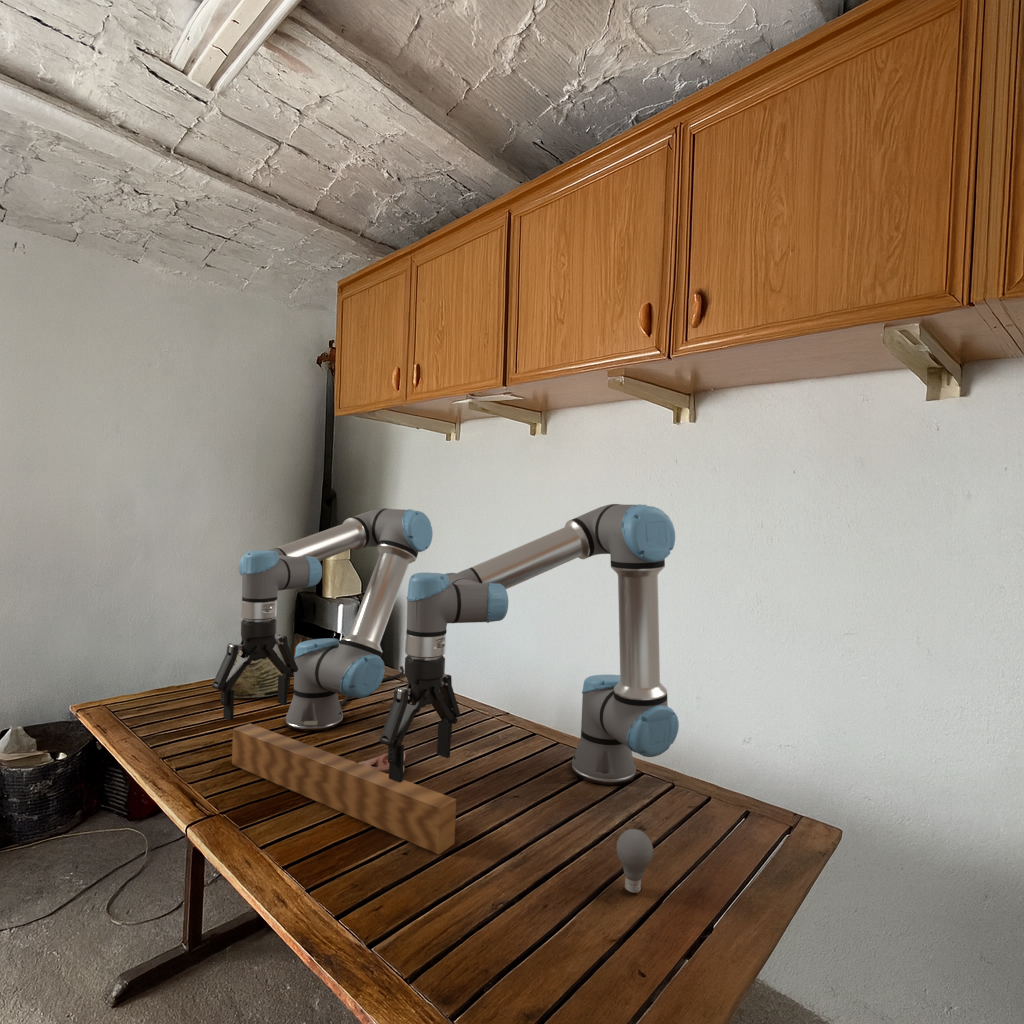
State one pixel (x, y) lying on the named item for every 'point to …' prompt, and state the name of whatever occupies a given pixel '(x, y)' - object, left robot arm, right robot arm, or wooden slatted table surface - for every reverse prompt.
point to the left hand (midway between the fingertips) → (256, 711)
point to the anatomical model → (379, 763)
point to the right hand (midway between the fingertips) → (420, 767)
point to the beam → (348, 787)
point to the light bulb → (634, 857)
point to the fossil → (257, 679)
